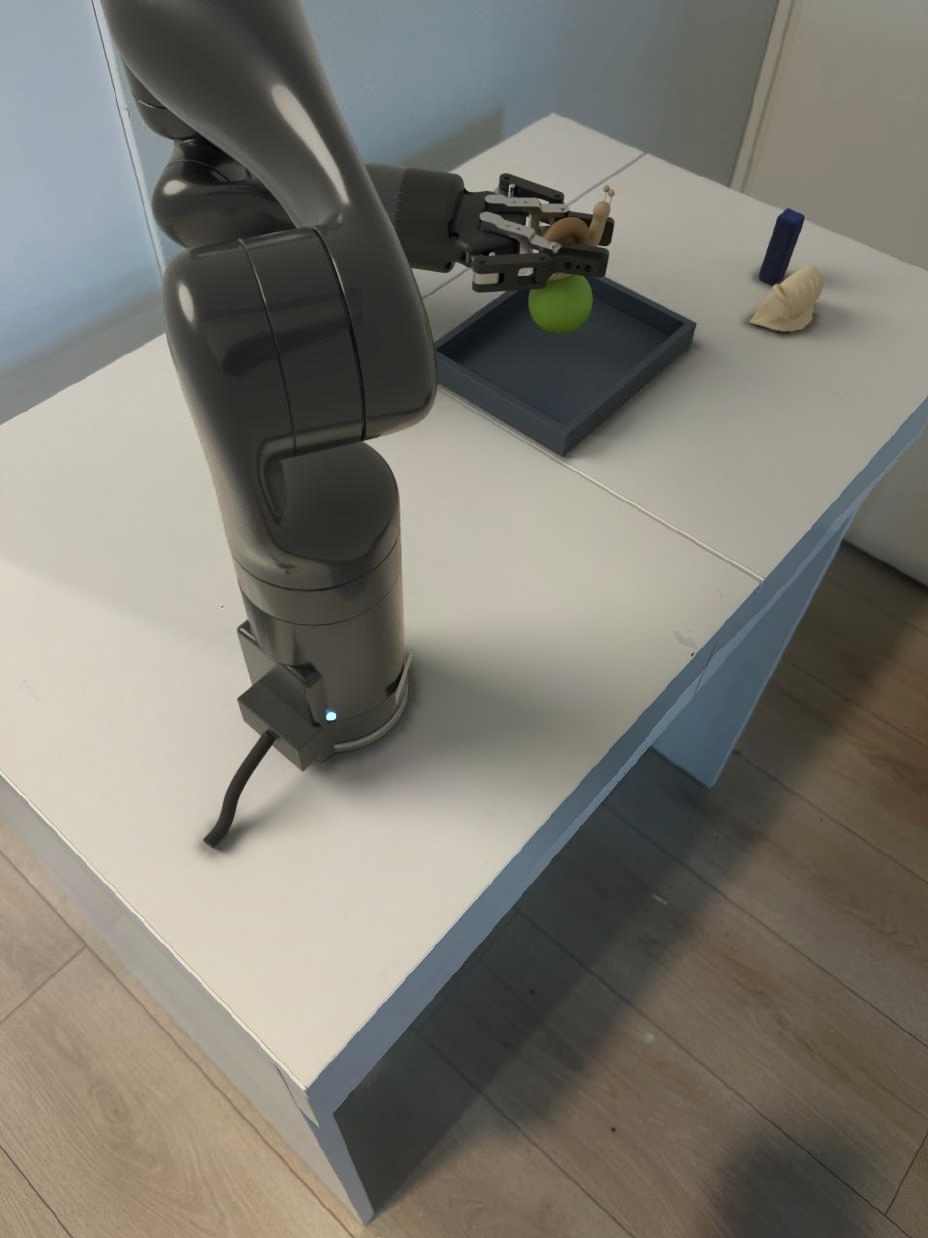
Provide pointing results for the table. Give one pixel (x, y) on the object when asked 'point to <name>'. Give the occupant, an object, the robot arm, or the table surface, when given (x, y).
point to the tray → (561, 361)
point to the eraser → (781, 246)
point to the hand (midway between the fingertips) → (609, 247)
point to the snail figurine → (568, 276)
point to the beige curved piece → (791, 301)
